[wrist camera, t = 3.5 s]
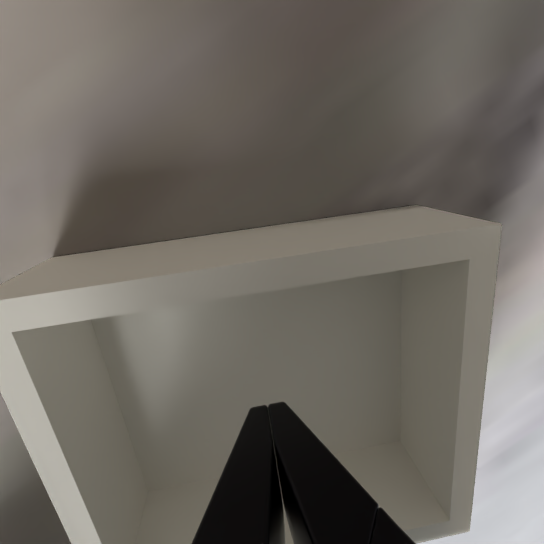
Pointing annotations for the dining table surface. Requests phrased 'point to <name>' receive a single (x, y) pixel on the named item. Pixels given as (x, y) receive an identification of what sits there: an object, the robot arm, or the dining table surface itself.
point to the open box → (255, 366)
